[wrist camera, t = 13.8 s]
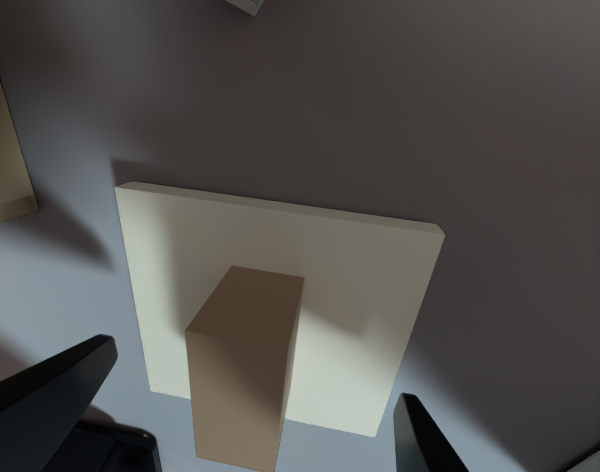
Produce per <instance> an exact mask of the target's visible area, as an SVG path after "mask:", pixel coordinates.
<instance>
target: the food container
mask: <svg viewBox="0 0 600 472" xmlns="http://www.w3.org/2000/svg"><path fill="white" fill-rule="evenodd" d="M226 1H227V2H229V3H231V4H232V5H234V6H236V7H238V8H239V9H241V10H243V11H245V12H246V13H248V14H250V15H252V16H253V17H255V15H256V14H257V12H258V10H259V9H260V7H261V5H262V3H263V2H264V0H226Z"/></svg>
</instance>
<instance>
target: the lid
mask: <svg viewBox="0 0 600 472" xmlns="http://www.w3.org/2000/svg"><path fill="white" fill-rule="evenodd" d="M114 188H115V193H116V199H117V204H118V210H119V216H120V221H121V227H122V233H123V238H124V244H125V249H126V255H127V261H128V266H129V272H130V278H131V283H132V289H133V294H134V300H135V306H136V311H137V317H138V322H139V328H140V334H141V339H142V345H143V351H144V356H145V362H146V367H147V373H148V379H149V384H150V390H151V391H153V392H158V393H163V394H168V395H173V396H178V397H182V398H187V399H191V406H192V416H193V427H194V438H195V449H196V457H197V458H202V459H206V460H211V461H215V462H220V463H224V464H228V465H233V466H237V467H242V468H246V469H251V470H255V471H260V472H275V466H276V461H277V456H278V451H279V445H280V440H281V435H282V430H283V424H284V419H288V420H293V421H298V422H303V423H308V424H313V425H317V426H322V427H327V428H332V429H337V430H342V431H346V432H351V433H356V434H361V435H366V436H371V437H375V436H376V433H377V430H378V427H379V424H380V421H381V419H382V416H383V413H384V410H385V407H386V404H387V401H388V398H389V396H390V393H391V390H392V387H393V384H394V381H395V378H396V376H397V373H398V370H399V367H400V364H401V361H402V358H403V355H404V353H405V350H406V347H407V344H408V341H409V338H410V335H411V333H412V330H413V327H414V324H415V321H416V318H417V315H418V312H419V310H420V307H421V304H422V301H423V298H424V295H425V292H426V289H427V287H428V284H429V281H430V278H431V275H432V272H433V269H434V267H435V264H436V261H437V258H438V255H439V252H440V249H441V246H442V244H443V241H444V238H445V234H444V232H443V231H442V230H441V229H440V227H439V226H438V225H437V224H432V223H425V222H418V221H411V220H404V219H397V218H389V217H382V216H375V215H368V214H361V213H354V212H347V211H340V210H333V209H326V208H319V207H312V206H304V205H297V204H290V203H283V202H276V201H269V200H262V199H255V198H248V197H241V196H234V195H227V194H220V193H212V192H205V191H198V190H191V189H184V188H177V187H170V186H163V185H156V184H149V183H142V182H135V181H131V182H128V183H125V184H122V185H119V186H116V187H114Z"/></svg>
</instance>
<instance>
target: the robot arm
mask: <svg viewBox="0 0 600 472" xmlns="http://www.w3.org/2000/svg"><path fill="white" fill-rule="evenodd" d="M117 357H118V353H117V349H116V344H115V340H114V338H113V337H112V336H109V335H104V334H99V335H96V336H94V337H92V338H90V339H88V340H86V341H84V342H81V343H79V344H77V345H75V346H73V347H71V348H69V349H67V350H65V351H63V352H61V353H59V354H56V355H54V356H52V357H50V358H48V359H46V360H44V361H42V362H40V363H38V364H36V365H33V366H31V367H29V368H27V369H25V370H23V371H21V372H19V373H17V374H15V375H13V376H11V377H8V378H6V379H4V380H2V381H0V472H162V470H161V464H160V459H159V453H158V448H157V445H156V443H155V442H154V441H152V440H151V439H148V438H143V437H139V436H134V435H130V434H125V433H121V432H116V431H112V430H107V429H103V428H98V427H94V426H89V425H85V424H81V423H77V421H78V420H79V419H80V417H81V416H82V415H83V413H84V412H85V410H86V409H87V407H88V406H89V404H90V403H91V401H92V400H93V398H94V396H95V395H96V393H97V392H98V390H99V388H100V387H101V385H102V384H103V382H104V380H105V379H106V377H107V376H108V374H109V372H110V371H111V369H112V368H113V366H114V364H115V363H116V360H117ZM393 420H394V436H395V451H396V467H397V472H469V471H468V469H467V468H466V466H465V465H464V463H463V462H462V460H461V459H460V458H459V456H458V455H457V453H456V452H455V450H454V449H453V448H452V446H451V445H450V443H449V442H448V440H447V439H446V437H445V436H444V435H443V433H442V432H441V430H440V429H439V427H438V426H437V424H436V423H435V422H434V420H433V419H432V417H431V416H430V414H429V413H428V412H427V410H426V409H425V407H424V406H423V404H422V403H421V401H420V400H419V399H418V397H417V396H415V395H413V394H408V393H401V394H400V396H399V399H398V401H397V404H396V407H395V409H394V415H393Z"/></svg>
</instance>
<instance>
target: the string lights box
mask: <svg viewBox="0 0 600 472" xmlns="http://www.w3.org/2000/svg"><path fill="white" fill-rule="evenodd" d="M567 472H600V450H599V451H598V452H596V453H594V454H593V455H591V456H590V457H588V458H587V459H585V460H584V461H582V462H581V463H579V464H578V465H576V466H575V467H573V468H572V469H570V470H568V471H567Z"/></svg>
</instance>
